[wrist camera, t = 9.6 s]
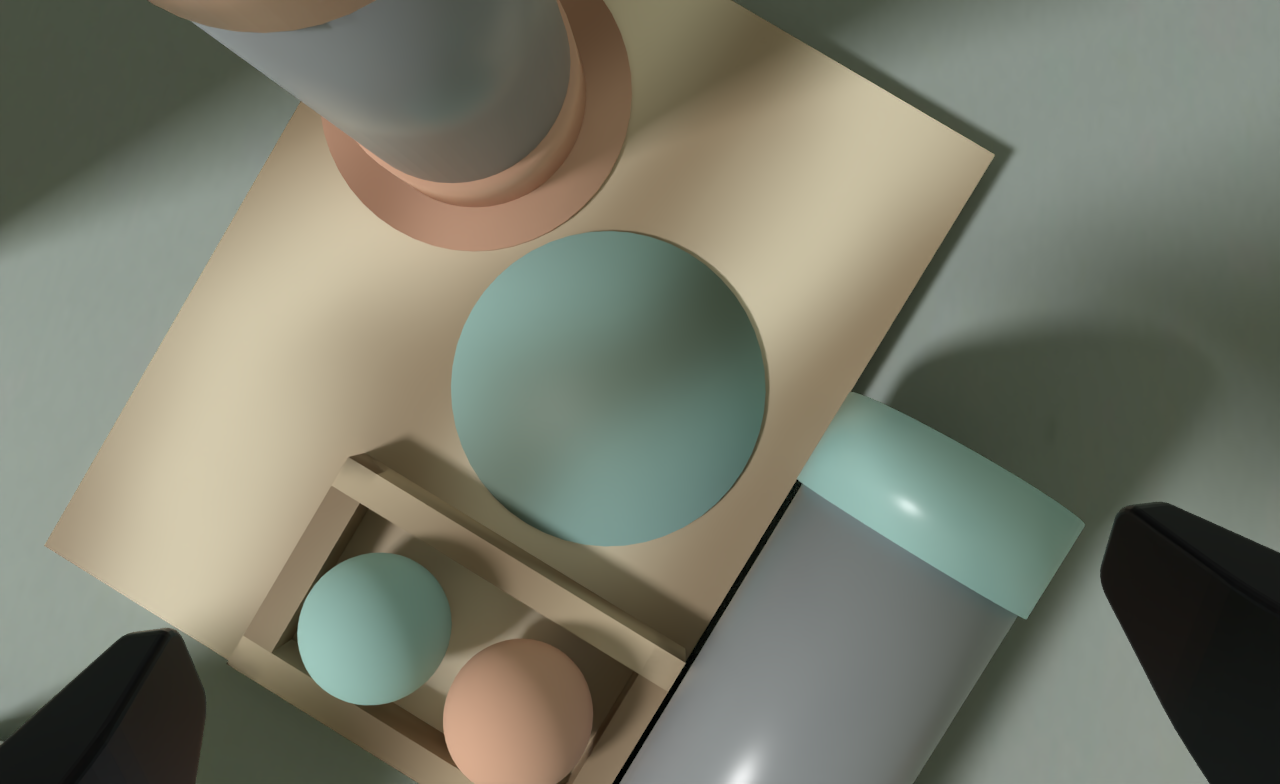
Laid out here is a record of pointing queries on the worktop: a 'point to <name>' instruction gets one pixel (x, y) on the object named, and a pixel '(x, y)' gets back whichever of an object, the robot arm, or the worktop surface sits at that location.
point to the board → (527, 372)
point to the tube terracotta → (423, 82)
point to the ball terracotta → (518, 714)
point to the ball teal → (374, 628)
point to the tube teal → (862, 613)
